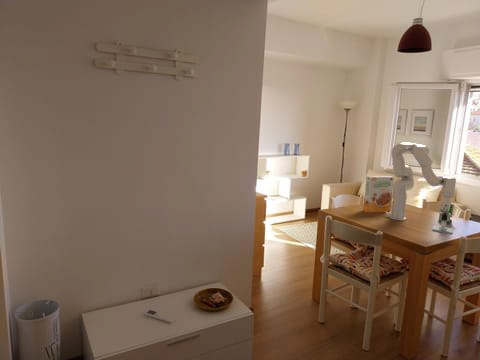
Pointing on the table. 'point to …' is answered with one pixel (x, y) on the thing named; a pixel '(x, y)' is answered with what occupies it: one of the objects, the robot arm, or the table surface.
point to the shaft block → (443, 228)
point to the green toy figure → (448, 212)
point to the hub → (447, 216)
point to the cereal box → (378, 193)
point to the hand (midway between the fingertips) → (444, 218)
